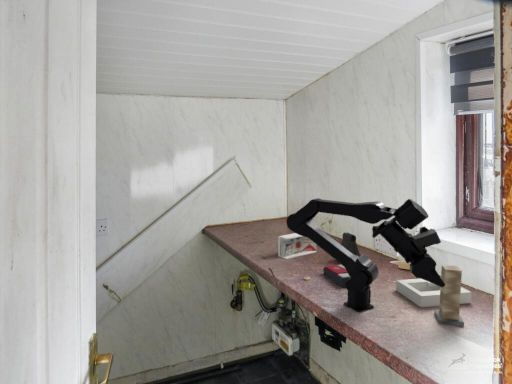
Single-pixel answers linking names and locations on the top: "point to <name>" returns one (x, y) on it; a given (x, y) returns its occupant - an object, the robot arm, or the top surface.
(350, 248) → the phone stand
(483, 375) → the top surface
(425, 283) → the keyhole plate
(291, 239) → the cigarette display
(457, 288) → the keyhole post
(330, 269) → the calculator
